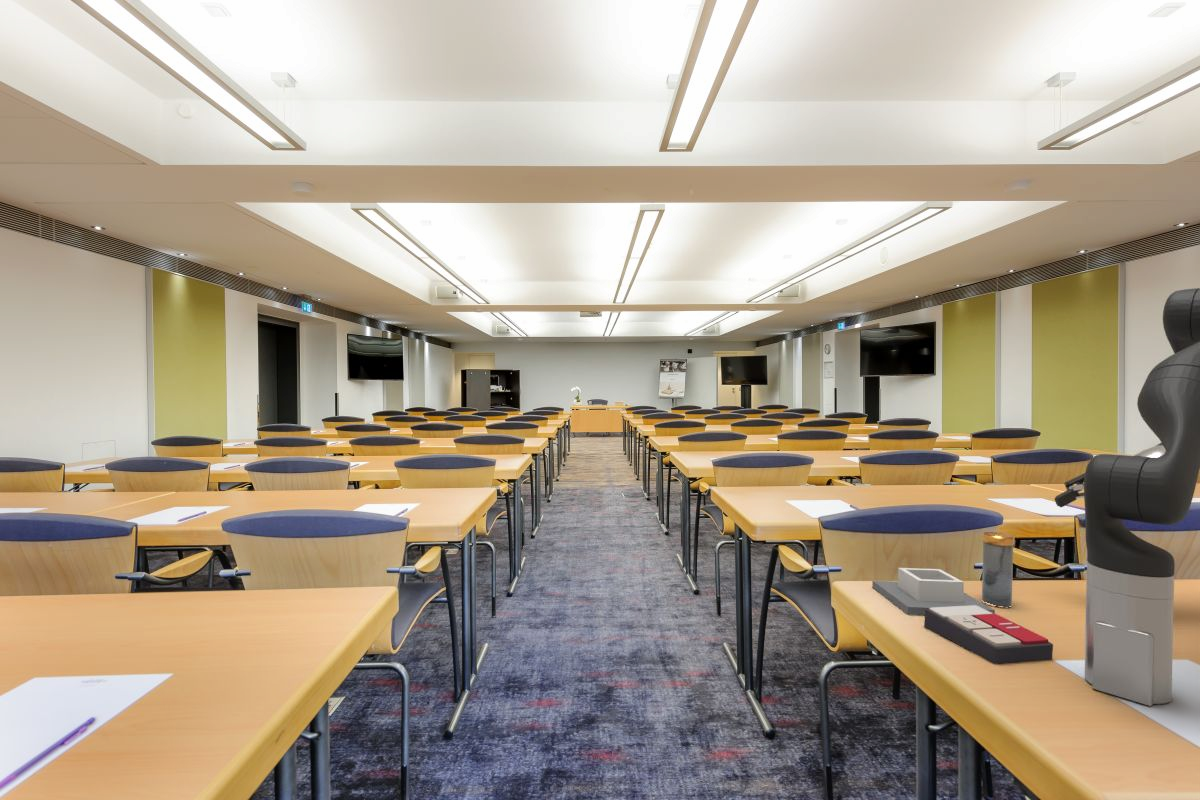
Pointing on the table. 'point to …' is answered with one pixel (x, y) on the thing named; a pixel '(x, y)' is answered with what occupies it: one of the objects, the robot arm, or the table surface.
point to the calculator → (988, 634)
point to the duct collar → (925, 591)
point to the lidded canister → (997, 568)
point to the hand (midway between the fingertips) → (1075, 510)
